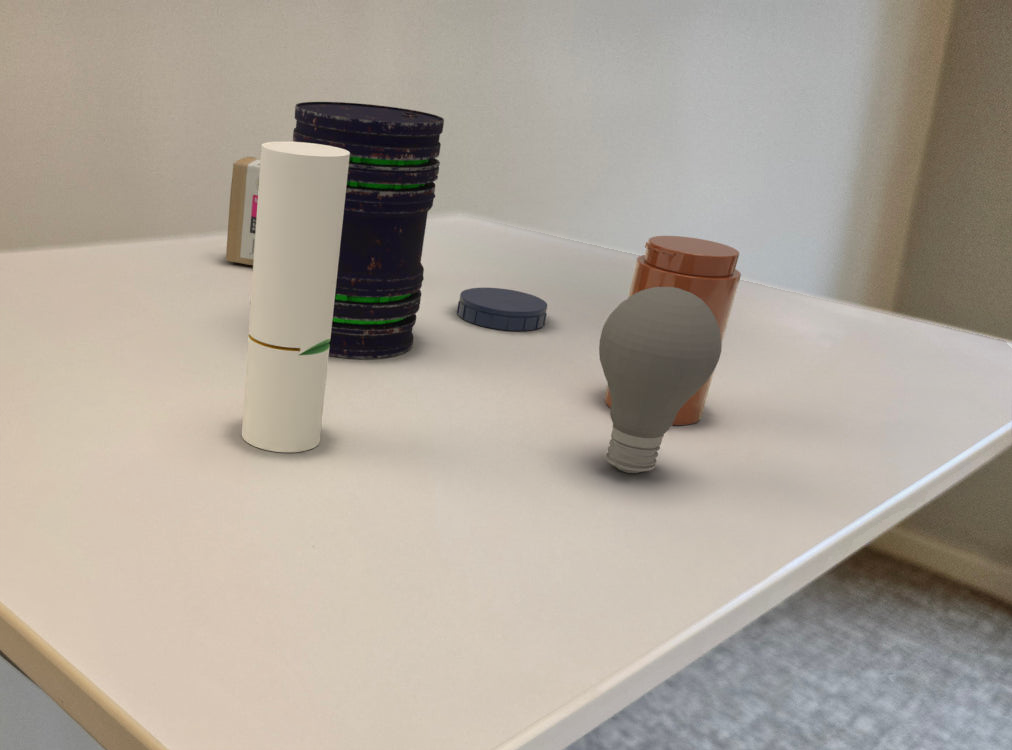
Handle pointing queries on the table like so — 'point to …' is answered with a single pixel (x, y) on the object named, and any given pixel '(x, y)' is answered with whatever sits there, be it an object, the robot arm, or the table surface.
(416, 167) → the storage jar
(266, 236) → the tube
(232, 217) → the ink box
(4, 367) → the table surface
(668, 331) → the light bulb
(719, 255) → the jar
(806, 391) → the table surface
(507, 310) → the jar lid
